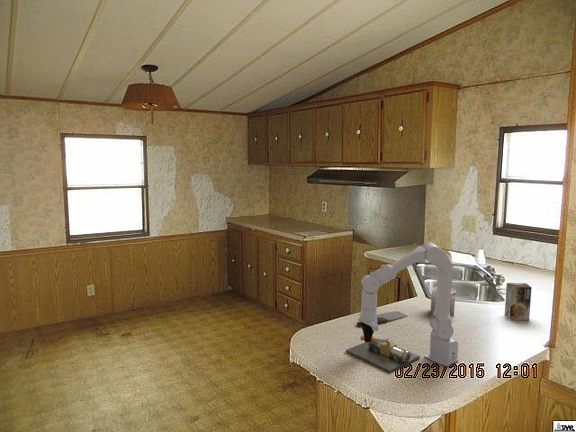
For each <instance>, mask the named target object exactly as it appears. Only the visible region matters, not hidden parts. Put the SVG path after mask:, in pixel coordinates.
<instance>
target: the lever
mask: <svg viewBox="0 0 576 432" xmlns="http://www.w3.org/2000/svg"><path fill="white" fill-rule="evenodd" d="M374 337H375V336H372V339H371V341H373V342H374V341H379V342H386V343H391V342H392V338H379V337H378V338H377V337H375V338H374ZM360 341H364V342H365V340H364V335H361V336H360ZM392 343H393V342H392Z"/></svg>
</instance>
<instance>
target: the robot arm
mask: <svg viewBox="0 0 576 432" xmlns="http://www.w3.org/2000/svg"><path fill="white" fill-rule="evenodd" d="M427 262H428V263H429V264H431V265H432V266H433V265H434V266H435V267H436V268H437V279H436V287H437V290H436V304H435V310H434V311H433V314H432V316H431V318H430V319H429V325H430V327H431V328H432V330H431V332H430V338H429V339H430V341H429V353H428V354H426V355H424V358H425V359H428V360H430V361H433V362H434V363H438V364H440V365H441V366H445V367H449V366H451V365H453V364H454V363H456V362H458V361H459V359H458V354H459V343H458V341H456V340H455V339H453V335H454V328H453V326H452V322H453V321H452V317H451V316H450V300H451V288H453V287H452V285H453V272H454V271H453V270H454V265H453V263H452V262H451V260H450V258H449V256H448V254H447V252H446V251H444V250H443V249H442V248H441V247H439V246H438V245H437V244H435V243H434V242H432V241H427V242H424V243H423V244H422V245H419V246H417V247H416V248H414V249H413V250H411V251H410V252H409V253H407V254H406V255H404V256H403V257H401V258H400V259H398V260H397V261H396V262H394V263H392V264H388V263H387V264H383V263H382V264H381V265H380V268H379V269H377V270H374V271H370V273H369V274H366V275H364V276H363V277H362V279H361V281H360V284H361V286H362V290H361V306H360V308H361V309H360V311H359V313H358V314H359V317H358V318H357V322H363V323H360V325H361V327H360V328H361V330H362V333H363V336H364V340H365V341H364V340H363V341H364V343H365V342H371V339H372V337H373V335H374V333H375V332H377V331H379V325H378V324H377V319H376V315H378V314H377V313H378V312H377V311H378V310H377V309H378V308H377V306H378V291H379V289H380V287H383V286H384V285H385V284H387V283H389V282H391V281H392V280H394V279H395V278H396V277H397V275H398V273H399V272H401V271H403V270H404V269H407V268H408V267H410V266H412V265H414V264H416V263H422V264H426V263H427Z"/></svg>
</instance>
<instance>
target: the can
mask: <svg viewBox="0 0 576 432" xmlns="http://www.w3.org/2000/svg"><path fill="white" fill-rule="evenodd" d="M430 290H431V299H430V314H431V315H433V311H434V310H435V304H436V290H437V286H435V287H433V288H431V289H430ZM456 293H457V290H456V289H455V288H453V287H451V300H450V316H451V318H452V317H454V316H455V305H456V304H455V303H456Z"/></svg>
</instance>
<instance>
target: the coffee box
mask: <svg viewBox="0 0 576 432" xmlns="http://www.w3.org/2000/svg"><path fill="white" fill-rule="evenodd" d="M531 299H532V286H530V285H529V284H528V283H526V282H506V290H505V301H504V302H505V304H504V316H505V317H506V318H507V319H508V320H509V321H510V320H515V321H519V320H520V321H530V315H531V314H530V313H531V301H532V300H531Z"/></svg>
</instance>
